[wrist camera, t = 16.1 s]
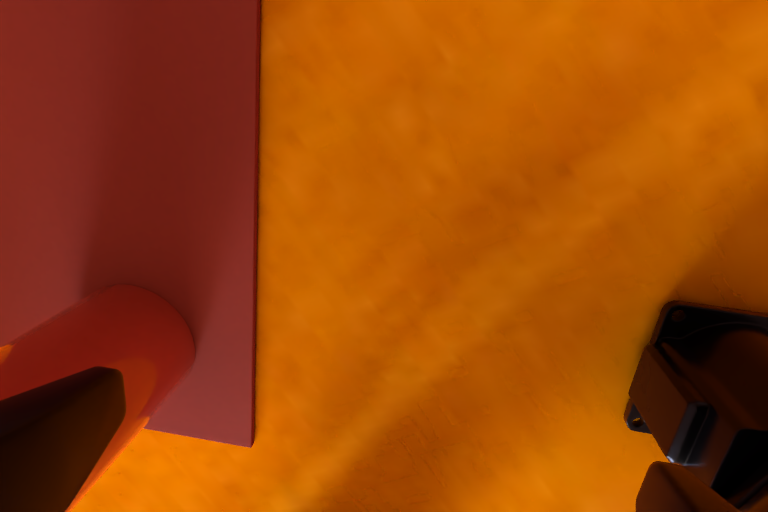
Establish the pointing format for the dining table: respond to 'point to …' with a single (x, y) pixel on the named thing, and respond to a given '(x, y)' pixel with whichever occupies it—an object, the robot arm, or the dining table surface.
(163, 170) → the sorting mat
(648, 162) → the dining table surface
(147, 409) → the red canister
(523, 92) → the dining table surface
